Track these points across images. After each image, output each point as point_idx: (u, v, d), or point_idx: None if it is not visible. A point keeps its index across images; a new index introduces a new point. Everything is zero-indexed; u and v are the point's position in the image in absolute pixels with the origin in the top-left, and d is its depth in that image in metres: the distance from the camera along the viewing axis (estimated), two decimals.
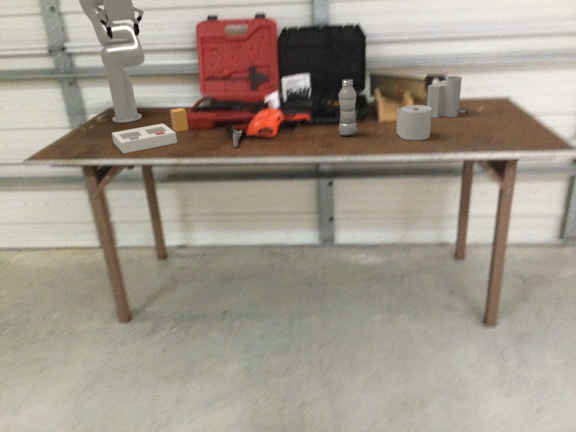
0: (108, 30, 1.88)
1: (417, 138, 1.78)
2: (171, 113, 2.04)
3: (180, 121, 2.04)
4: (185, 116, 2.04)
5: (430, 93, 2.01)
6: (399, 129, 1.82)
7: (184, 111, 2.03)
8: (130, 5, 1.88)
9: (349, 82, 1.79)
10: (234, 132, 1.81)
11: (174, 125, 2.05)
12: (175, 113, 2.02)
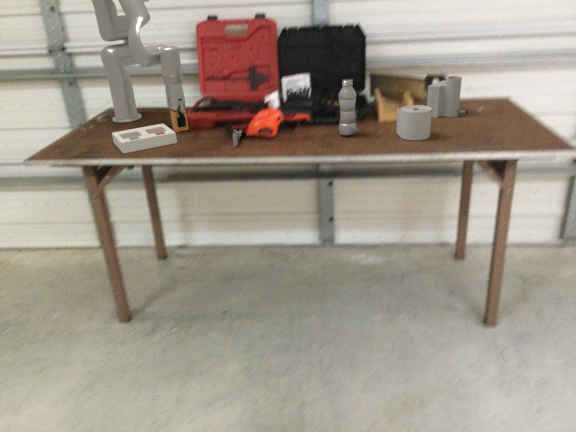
0: (183, 119, 2.03)
1: (417, 138, 1.78)
2: (171, 113, 2.04)
3: None
4: (185, 116, 2.04)
5: (430, 93, 2.01)
6: (399, 129, 1.82)
7: None
8: None
9: (349, 82, 1.79)
10: (234, 132, 1.81)
11: (174, 125, 2.05)
12: (175, 113, 2.02)
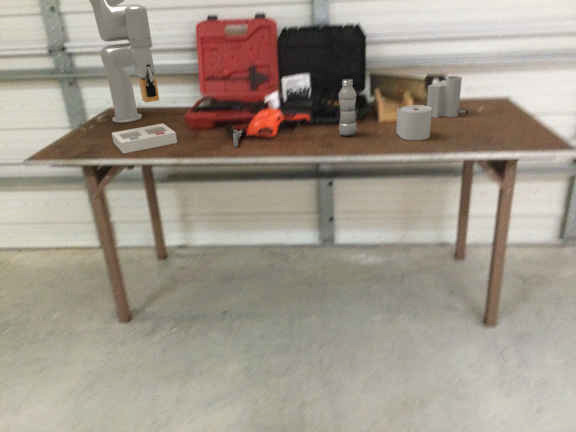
0: None
1: (417, 138, 1.78)
2: (140, 81, 1.85)
3: None
4: (155, 85, 1.85)
5: (430, 93, 2.01)
6: (399, 129, 1.82)
7: (154, 79, 1.84)
8: None
9: (349, 82, 1.79)
10: (234, 132, 1.81)
11: (143, 95, 1.86)
12: (144, 81, 1.83)
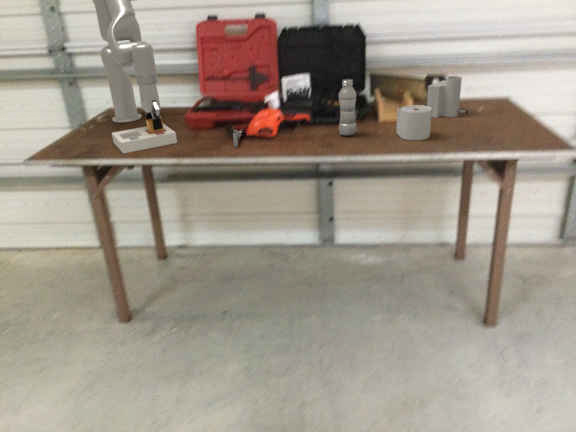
0: None
1: (417, 138, 1.78)
2: (147, 123, 1.92)
3: None
4: (162, 126, 1.92)
5: (430, 93, 2.01)
6: (399, 129, 1.82)
7: None
8: None
9: (349, 82, 1.79)
10: (234, 132, 1.81)
11: None
12: (151, 123, 1.90)
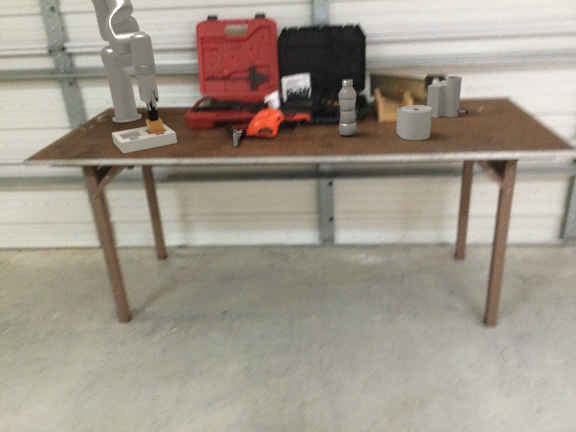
0: None
1: (417, 138, 1.78)
2: (147, 123, 1.92)
3: None
4: (162, 126, 1.92)
5: (430, 93, 2.01)
6: (399, 129, 1.82)
7: (161, 121, 1.91)
8: None
9: (349, 82, 1.79)
10: (234, 132, 1.81)
11: None
12: (151, 123, 1.90)
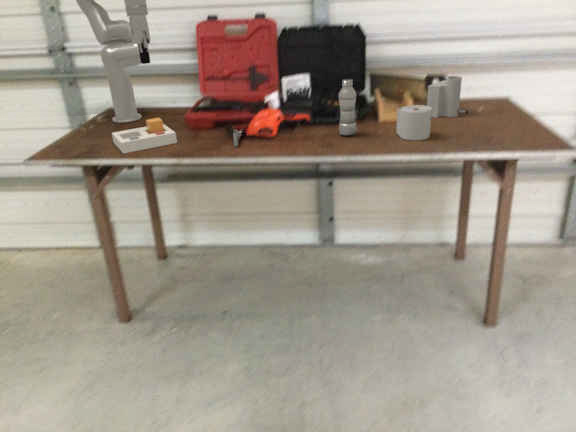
0: None
1: (417, 138, 1.78)
2: (147, 123, 1.92)
3: None
4: (162, 127, 1.92)
5: (430, 93, 2.01)
6: (399, 129, 1.82)
7: (161, 121, 1.91)
8: None
9: (349, 82, 1.79)
10: (234, 132, 1.81)
11: None
12: (151, 123, 1.90)
